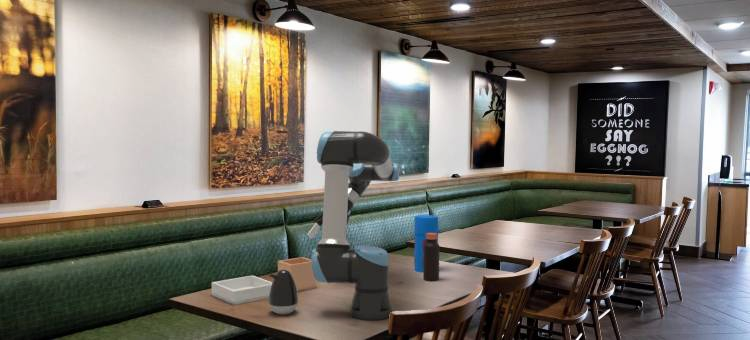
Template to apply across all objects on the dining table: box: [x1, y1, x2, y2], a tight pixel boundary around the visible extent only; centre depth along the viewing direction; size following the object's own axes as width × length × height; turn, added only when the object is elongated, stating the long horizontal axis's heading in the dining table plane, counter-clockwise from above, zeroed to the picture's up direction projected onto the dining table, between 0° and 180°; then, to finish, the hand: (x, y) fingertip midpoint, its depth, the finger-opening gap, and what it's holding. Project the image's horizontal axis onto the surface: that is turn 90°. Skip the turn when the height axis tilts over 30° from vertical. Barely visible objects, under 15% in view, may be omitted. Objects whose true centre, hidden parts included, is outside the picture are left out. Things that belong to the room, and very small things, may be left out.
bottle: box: [422, 233, 440, 282], centre depth 258 cm, size 7×7×20 cm
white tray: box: [211, 275, 273, 306], centre depth 230 cm, size 18×18×5 cm
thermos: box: [413, 214, 439, 273], centre depth 275 cm, size 11×11×25 cm
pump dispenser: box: [268, 269, 299, 315], centre depth 209 cm, size 10×10×15 cm
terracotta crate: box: [277, 256, 317, 292], centre depth 243 cm, size 10×12×11 cm
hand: (318, 239), depth 249 cm, fingers open, 13 cm apart
